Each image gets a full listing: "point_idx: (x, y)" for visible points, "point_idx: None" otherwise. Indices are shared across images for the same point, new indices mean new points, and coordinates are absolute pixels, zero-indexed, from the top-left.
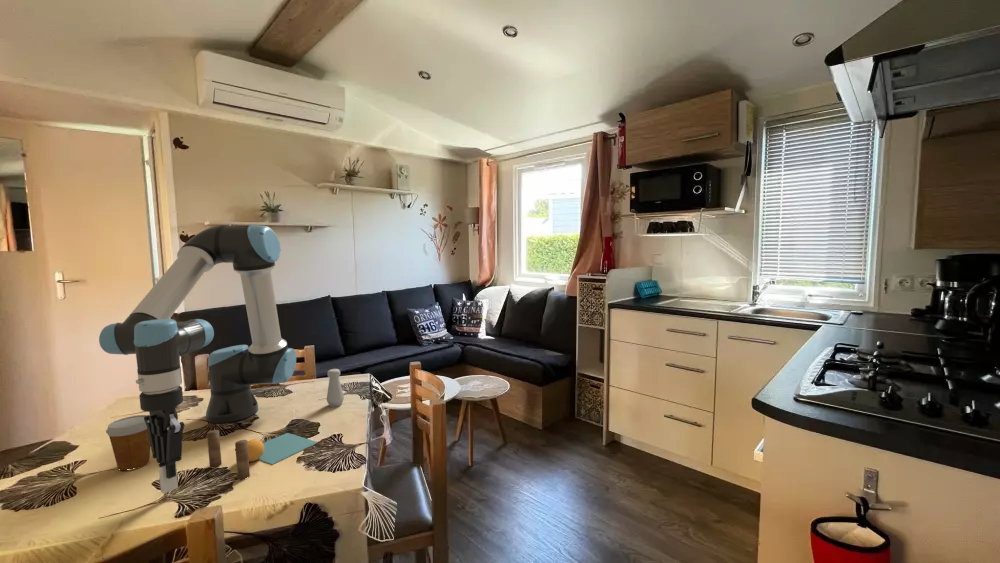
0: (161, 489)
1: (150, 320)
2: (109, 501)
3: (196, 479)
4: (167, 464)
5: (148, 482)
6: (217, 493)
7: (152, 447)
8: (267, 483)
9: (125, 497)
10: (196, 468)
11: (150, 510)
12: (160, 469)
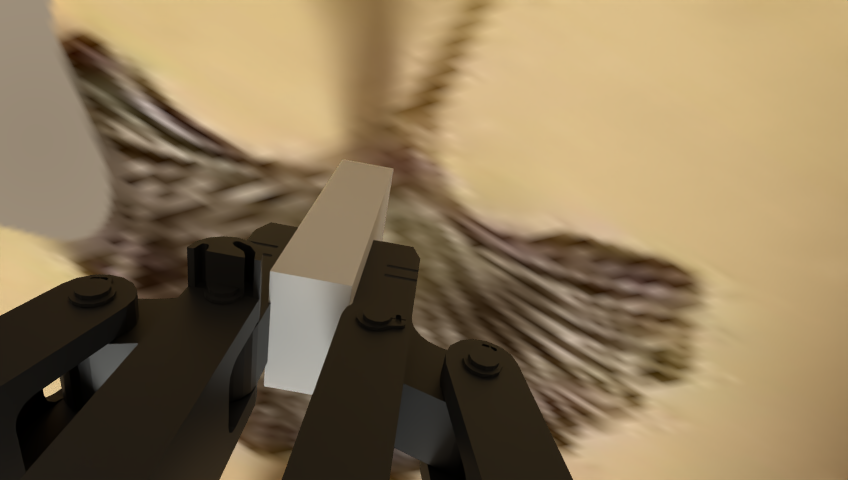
0: (378, 173)
1: None
2: (795, 15)
3: None
4: (102, 275)
5: (726, 271)
6: (144, 293)
7: (509, 469)
8: None
9: (712, 94)
10: (558, 442)
11: (338, 34)
12: (330, 253)
